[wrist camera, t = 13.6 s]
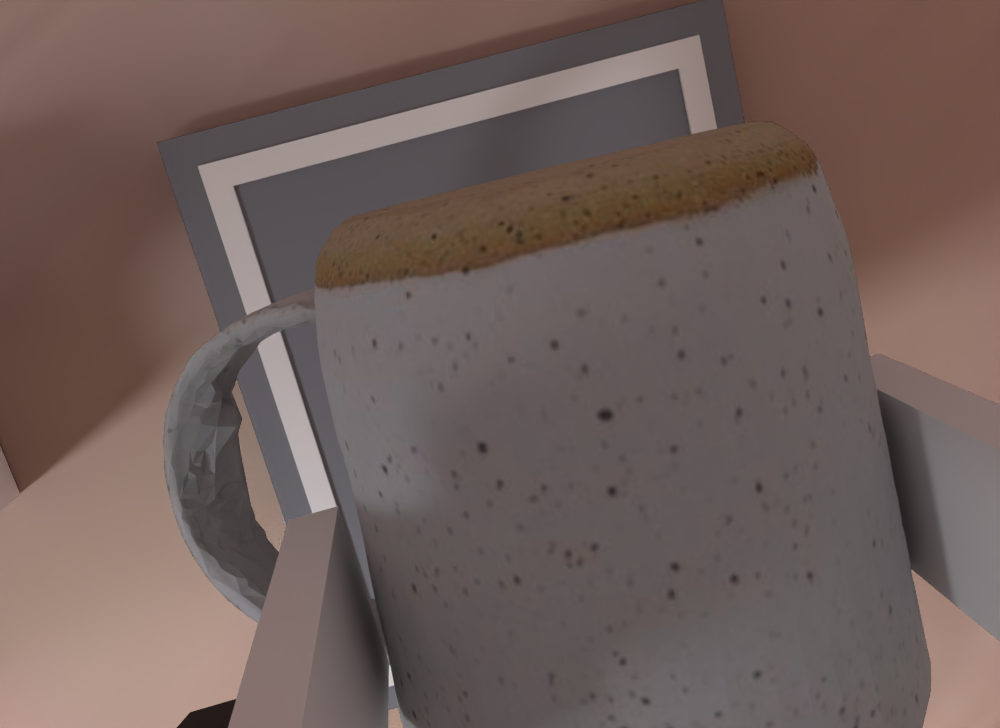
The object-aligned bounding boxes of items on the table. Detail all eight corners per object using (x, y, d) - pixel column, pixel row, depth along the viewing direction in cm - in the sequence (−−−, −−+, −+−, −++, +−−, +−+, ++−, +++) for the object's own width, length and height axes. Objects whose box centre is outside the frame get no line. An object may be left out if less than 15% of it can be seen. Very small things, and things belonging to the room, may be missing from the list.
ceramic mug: (716, 107, 16) (983, 73, 9) (793, 529, 18) (1065, 795, 11) (117, 262, 16) (-143, 364, 8) (263, 676, 18) (160, 1060, 10)
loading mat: (354, 702, 25) (352, 722, 24) (165, 142, 21) (155, 142, 20) (814, 567, 25) (829, 581, 25) (709, 1, 22) (722, -6, 21)
